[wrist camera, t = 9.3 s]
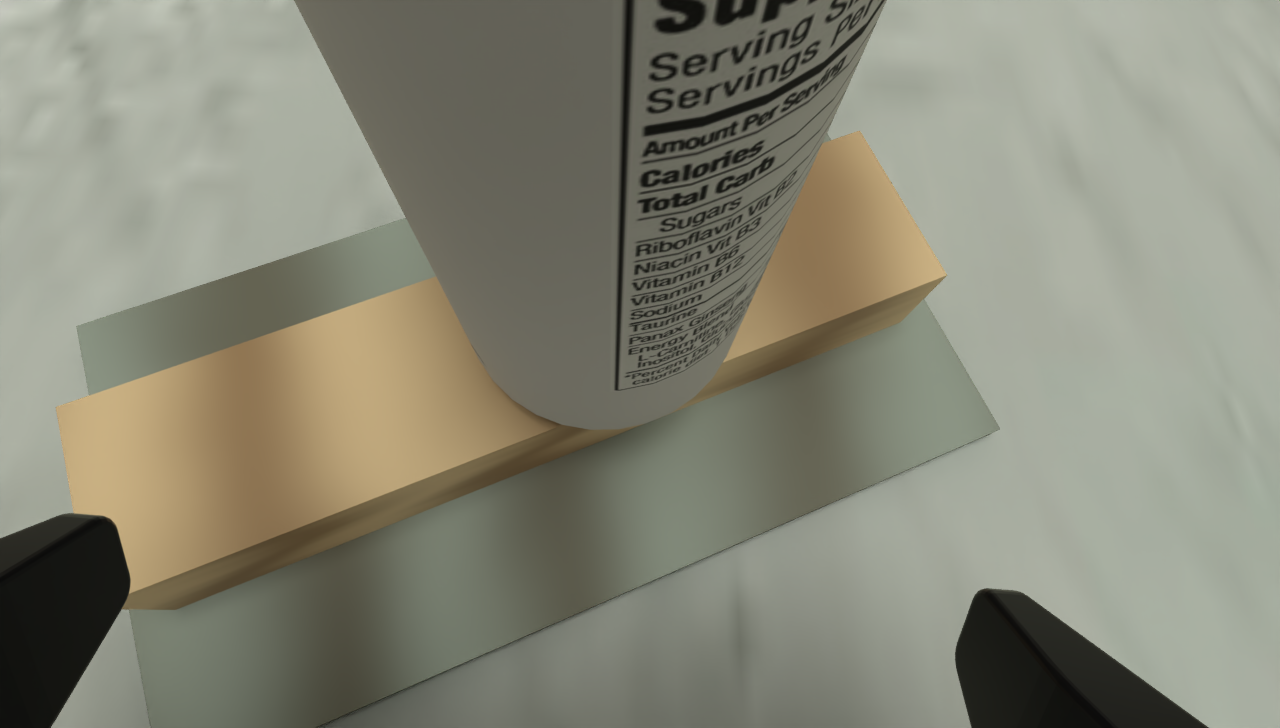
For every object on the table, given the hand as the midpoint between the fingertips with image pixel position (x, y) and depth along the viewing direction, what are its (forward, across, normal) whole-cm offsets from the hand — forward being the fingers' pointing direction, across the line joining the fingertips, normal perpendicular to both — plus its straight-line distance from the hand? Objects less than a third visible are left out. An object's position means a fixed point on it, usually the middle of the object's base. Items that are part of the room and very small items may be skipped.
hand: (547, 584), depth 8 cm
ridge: (+12, +2, +4) cm, 13 cm away
